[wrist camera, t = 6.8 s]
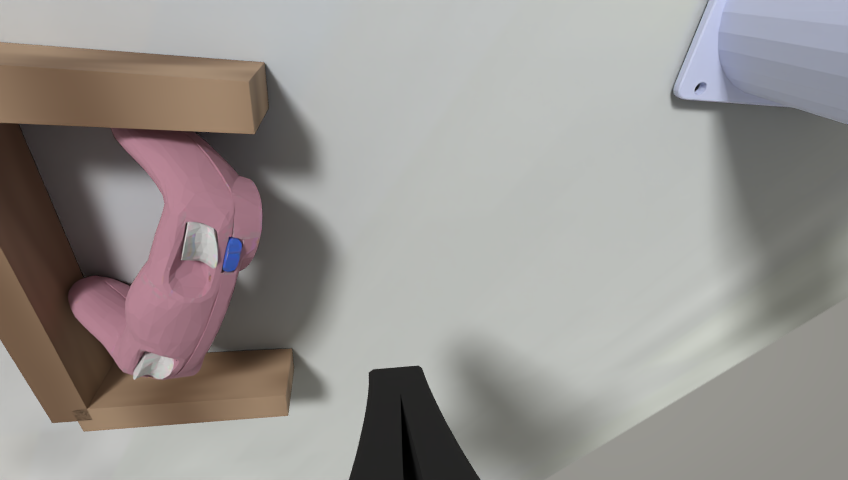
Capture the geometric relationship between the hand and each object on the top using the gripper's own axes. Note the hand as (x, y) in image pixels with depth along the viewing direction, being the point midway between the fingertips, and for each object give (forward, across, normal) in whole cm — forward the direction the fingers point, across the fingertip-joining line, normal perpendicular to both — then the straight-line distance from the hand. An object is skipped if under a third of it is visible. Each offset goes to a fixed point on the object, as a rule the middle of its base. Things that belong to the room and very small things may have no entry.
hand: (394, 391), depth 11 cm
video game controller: (+10, +8, 0) cm, 13 cm away
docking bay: (+9, +9, +1) cm, 13 cm away
